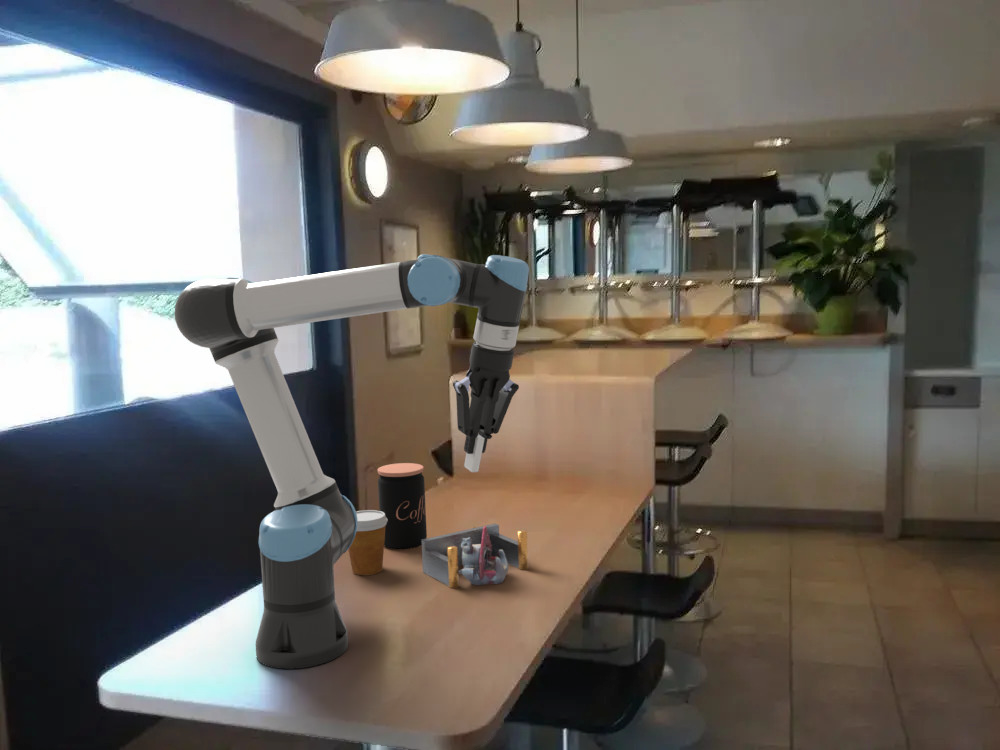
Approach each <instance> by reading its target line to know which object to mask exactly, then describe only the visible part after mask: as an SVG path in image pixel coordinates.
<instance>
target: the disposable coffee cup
mask: <svg viewBox="0 0 1000 750" xmlns="http://www.w3.org/2000/svg"><path fill="white" fill-rule="evenodd" d="M355 511H356V510H355ZM356 514H357V520H358V525H357V531H356V534H355V537H354V540H353V542H352V544H351V546H350V547H349V548H348V554H349V559H350V565H351V571H352V573H353V574H355V575H358V576H371V575H376V574H379V573H381V572H382V571H383V564H384V563H383V562H384V554H385V553H384V549H385V546H384V540H385V526H386V523H387V521H388V519H387V518H386V516H385V513H384V512H382V511H379V510H375V509H366V510H357V511H356Z"/></svg>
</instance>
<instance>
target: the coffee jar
mask: <svg viewBox="0 0 1000 750" xmlns="http://www.w3.org/2000/svg"><path fill="white" fill-rule="evenodd" d="M424 469H425V467H424V466H423V465H422V464H419V463H412V462H404V463H403V462H399V463H392V464H391V463H389V464H386V465H382V466H380V467H378V468H377V469H376V470H377V474H378V475H379V478H378V479H377V488H378V489H377V492H378V493H377V494H378V507H379V508H378V509H379V510H378V511H382V512H384V513H385V516H386V518H387V519H388V521H387V523H386V526H385V540H384V548H387V549H391V550H398V551H399V550H404V551H405V550H411V549H416V548H418V547H422V539H427V538H428V535H427V534H428V532H427V512H426V511H427V507H426V491H425V489H426V488H425V477H424V475H423V472H424Z"/></svg>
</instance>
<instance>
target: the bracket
mask: <svg viewBox="0 0 1000 750" xmlns="http://www.w3.org/2000/svg"><path fill="white" fill-rule="evenodd" d="M484 526H486V527H487V531H488V534H489V537H490V542H491V546H492V550H491V556H492V557H498V551H499V550H503V551H504V553H505V557H506V559H507V562H508V565H511V566H512V567H514V568H518V569H519V570H521V571H526V570H528V569H529V550H528V531H527V530H526V529H519V530H517V532H516V533H517V540H515V539H513V538H511V537H508V536H507V535H503V534H501V533H500V524H498V523H491V524H487V525H482V526H478V527H473V528H469V529H464V530H459V531H456V532H455V531H454V532H451V533H450V532H449V533H447V534H446V533H445V534H441V535H437V536H432V537H427V538H426V539H422V545H421V556H422V562H421V563H422V573H424V574H425V575H428V576H429V577H432V578H433V579H435V580H437V581H439V582H441V583H442V584H444V585H446V586H448V587H449V588H450V589H457V588H459V587H460V581H459V580H460V577H459V573H458V571H459V567H461V566H463V564H462V552H463V549H462V548H461V543H462V542H463V540H462V538H465V539H467V538H469V537H470V538H471V540H472V543H471V544H472V545H475V544H481V541H482V532H483V527H484ZM486 547H487V545H486Z"/></svg>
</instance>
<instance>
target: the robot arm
mask: <svg viewBox="0 0 1000 750" xmlns="http://www.w3.org/2000/svg"><path fill="white" fill-rule="evenodd" d="M529 274H530V267H529V265H528V263H527V262H526V261H524V260H523V259H519V258H516V257H513V256H512V257H511V256H507V255H499V254H492V255H490V256H488V257H487V259H486V261H485V264H483V263H482V264H481V263H473V262H468V261H464V260H460V259H457V258H456V259H455V258H450V257H445V256H441V255H438V254H428V253H423V254H419V256H418V257H417V259H412V260H410V259H409V260H406V261H398V262H390V263H384V264H378V265H368V266H363V267H362V266H361V267H357V268H349V269H342V270H336V271H328V272H322V273H315V274H310V275H309V274H307V275H303V276H301V275H300V276H296V277H295V276H294V277H287V278H282V279H281V278H280V279H275V280H273V279H272V280H269V281H267V280H266V281H259V282H253V281H250V280H247V279H245V278H241V277H227V278H204V279H200V280H197V281H194V282H192V283H191V284H189V285H187V286H186V287H185V288H184V289H183V290H182V291H181V292H180V294H179V295H178V297H177V300H176V303H175V305H174V320H175V323H176V326H177V328H178V330H179V332H180V333H181V335H182V336H183V337H184V338H185V339H186V340H187V341H189V342H190V343H192V344H194V345H196V346H198V347H202V348H207V349H209V351H210V353H211V355H212V358H213V361H214V362H215V364H216V365H219V366H221V367H223V368H225V369H226V370H227V371H228V373H229V376H230V378H231V380H232V383H233V386H234V389H235V391H236V393H237V395H238V398H239V401H240V403H241V405H242V408H243V410H244V413H245V414H246V417H247V419H248V422H249V425H250V427H251V430H252V432H253V434H254V437H255V439H256V442H257V444H258V447H259V449H260V452H261V454H262V457H263V459H264V462H265V464H266V466H267V469H268V471H269V474H270V477H271V478H272V481H273V483H274V485H275V487H276V490H277V496H276V499H275V501H274V502H273V507H274V510H273V511H272V512H270V513H268V514H267V515H266V516H265V517H264V518H263V519H262V520H261V521H260V525H259V530H258V531H259V535H258V542H257V543H258V547H259V556H260V570H261V582H262V583H261V585H262V595H263V596H262V598H263V612H262V616H261V620H260V625H259V628H258V632H257V636H256V639H255V656H257V657H256V659H257V658H258V659H257V661H258V660H259V661H261V662H262V663H264V664H266V665H265V666H267V665H268V666H267V667H270V666H272V667H271V668H274V667H276V669H282V668H286V669H287V668H288V669H289V668H290V669H294V670H296V669H302V668H303V669H304V668H310V667H314V666H319V665H322V664H326V663H328V662H331V661H333V660H335V659H336V658H338V657H340V656H342V654H344V653H345V652H346V651H347V650H348V647H349V637H348V636H349V635H348V629H347V626H346V624H345V622H344V619H343V617H342V614H341V612H340V609H339V607H338V604H337V602H336V593H335V574H334V572H335V571H334V565H335V564H336V563H337V562H338V561H339V559H341V557H342V555H343V554H345V553H346V552H347V551H349V549H348V548H349V547H350V546H351V544H352V542H353V540H354V537H355V534H356V531H357V525H358V520H357V514H356V508H355V506H354V505H353V503H352V502H351V501H350V499H348V498H347V496H345V495H342V493H341V492H340V490H339V489H340V488H339V487H338V484H337V482H336V480H335V478H332V477H330V476H327V475H326V474H324V472H323V470H322V468H321V465H320V463H319V460H318V457H317V455H316V453H315V450H314V448H313V445H312V443H311V440H310V438H309V435H308V433H307V430H306V428H305V425H304V423H303V421H302V418H301V415H300V412H299V411H298V408H297V406H296V404H295V400H294V399H293V395H292V394H291V390H290V388H289V385H288V383H287V381H286V379H285V376H284V373H283V370H282V368H281V366H280V363H279V361H278V359H277V356H276V353H275V351H276V350H275V349H276V347H277V345H278V342H279V338H278V335H277V333H276V328H282V327H288V326H289V327H290V326H296V325H304V324H311V323H315V322H316V323H318V322H322V321H330V320H338V319H344V318H351V317H352V318H353V317H358V316H365V315H371V314H380V313H385V312H394V311H401V310H406V309H415V308H416V309H417V308H424V307H429V306H430V307H436V306H442V305H445V304H447V303H448V304H449V303H450V304H453V305H454V304H455V305H461V306H467V307H469V308H477V309H478V311H477V317H476V321H475V327H474V333H473V337H472V338H473V340H474V342H473V343H472V344H471V349H470V355H469V368H468V371H467V372H466V374H465V377H464V378H462V379H461V380H460V381H459V380H454V381H453V382H452V387H453V389H454V391H455V395H456V396H455V397H456V419H457V420H456V421H457V422H456V423H457V431H460V433H462V434H463V435H465V441H464V446H463V451H464V452H465V453H466V454H465V459H464V464H463V467H464V468H465V469H466V470H468V471H469V472H470V473H478V472H479V471H480V464H481V460H482V455H483V454H484V453H485V452H486V449H487V444H488V440H490V439H492V438H493V434H495V435H496V434H498V433H499V432H500V430H501V426H502V423H503V422H504V419H505V417H506V414H507V412H508V409H509V407H510V404H511V402H512V399H513V397H514V396H515V394H516V393H517V392H518V390H519V388H520V386H519V384H518V383H516V382H514V381H512V380H511V375H510V370H511V369H512V367H513V366H512V365H513V360H514V356H515V350H514V348H515V347H516V344H517V339H518V334H519V331H520V330H519V329H520V324H521V318H522V313H523V310H524V309H523V308H524V303H525V298H526V294H527V291H528V290H527V289H528V280H529ZM469 392H470V395H469ZM470 398H471V399H470ZM259 661H258V662H259ZM261 662H260V663H261ZM262 663H261V664H262ZM264 664H263V665H264ZM318 664H319V665H318ZM295 668H296V669H295ZM286 669H285V670H286ZM290 669H289V670H290Z"/></svg>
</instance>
